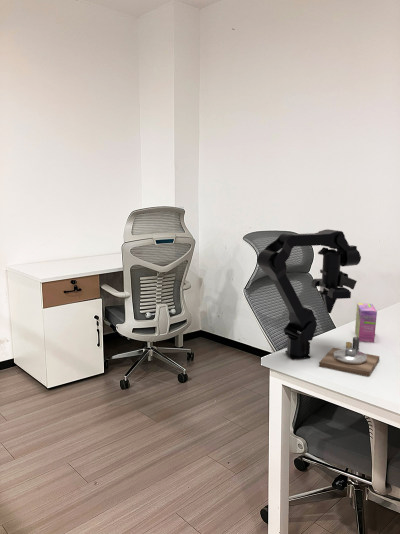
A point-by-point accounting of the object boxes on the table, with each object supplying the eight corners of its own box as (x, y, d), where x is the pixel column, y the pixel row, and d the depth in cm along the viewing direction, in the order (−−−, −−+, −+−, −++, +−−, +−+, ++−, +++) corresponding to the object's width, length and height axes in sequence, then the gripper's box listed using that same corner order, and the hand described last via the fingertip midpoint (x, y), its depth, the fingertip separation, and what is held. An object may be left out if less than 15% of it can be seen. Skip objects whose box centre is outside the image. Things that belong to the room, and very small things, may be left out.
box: (374, 342, 168) (377, 311, 166) (358, 341, 169) (360, 310, 167) (370, 333, 178) (372, 303, 176) (354, 332, 179) (356, 302, 177)
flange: (362, 366, 142) (363, 351, 141) (329, 360, 147) (330, 345, 146) (371, 354, 152) (372, 340, 151) (340, 348, 157) (341, 334, 156)
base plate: (368, 376, 139) (370, 362, 138) (319, 366, 146) (319, 352, 146) (379, 360, 151) (380, 347, 150) (332, 351, 159) (333, 339, 158)
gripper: (367, 272, 148) (364, 319, 151) (341, 262, 166) (339, 305, 169) (334, 273, 146) (331, 321, 149) (311, 263, 165) (309, 306, 167)
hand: (328, 312), depth 159 cm, fingers closed
